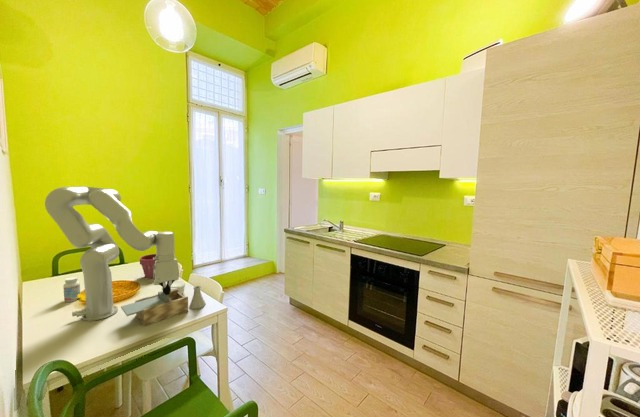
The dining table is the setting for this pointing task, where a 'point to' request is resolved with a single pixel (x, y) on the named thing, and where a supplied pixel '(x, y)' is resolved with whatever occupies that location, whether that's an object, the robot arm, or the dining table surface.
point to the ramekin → (178, 286)
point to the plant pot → (148, 265)
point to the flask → (197, 299)
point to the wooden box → (164, 308)
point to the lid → (145, 304)
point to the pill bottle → (71, 289)
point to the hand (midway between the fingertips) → (166, 293)
